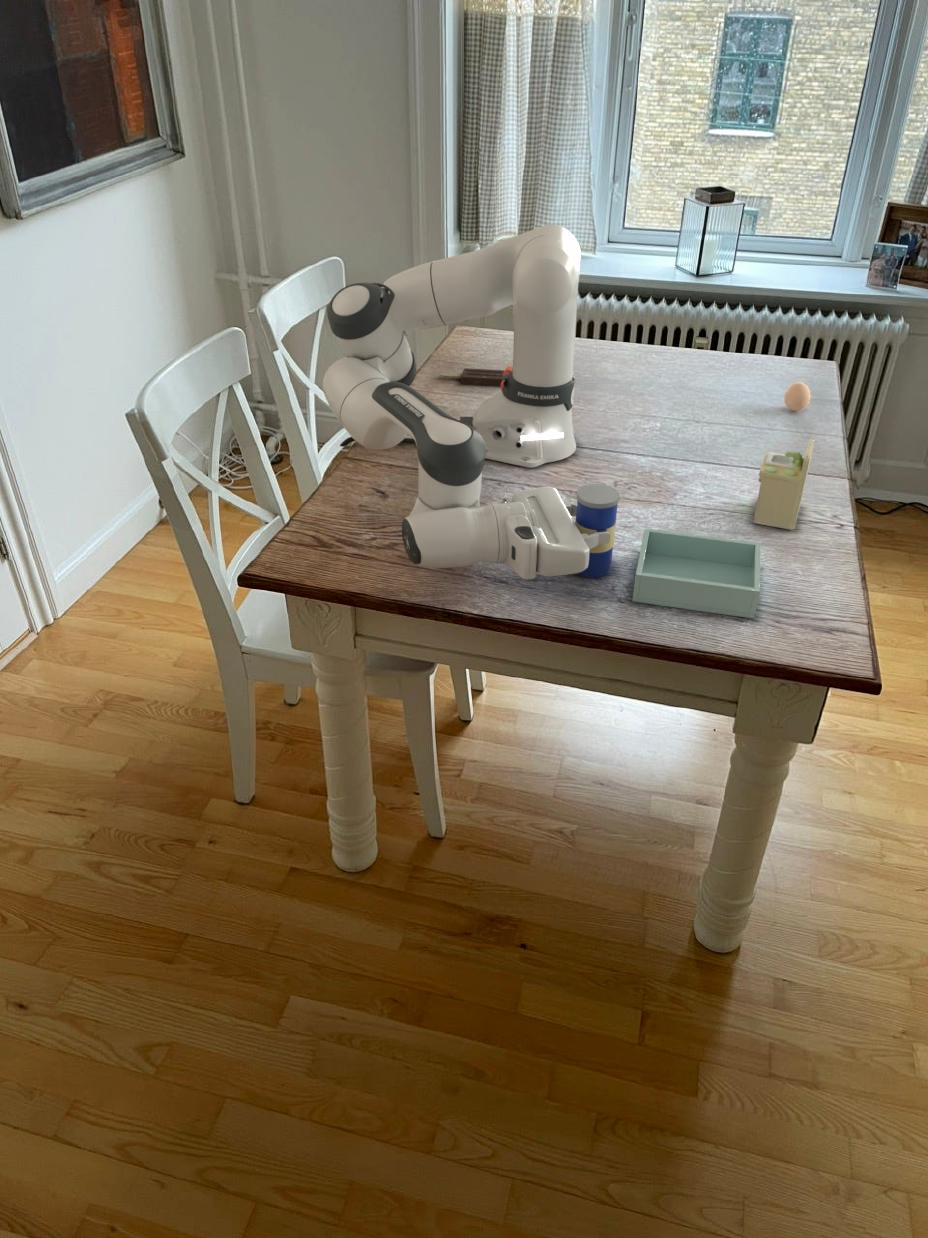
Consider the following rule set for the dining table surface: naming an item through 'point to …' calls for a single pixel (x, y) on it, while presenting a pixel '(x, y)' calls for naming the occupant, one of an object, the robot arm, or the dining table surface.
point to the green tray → (698, 573)
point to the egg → (797, 396)
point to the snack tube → (597, 524)
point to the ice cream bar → (478, 376)
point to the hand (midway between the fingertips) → (601, 523)
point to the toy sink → (782, 488)
